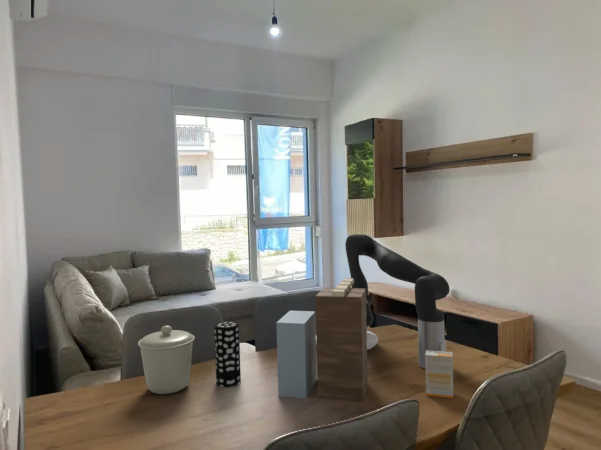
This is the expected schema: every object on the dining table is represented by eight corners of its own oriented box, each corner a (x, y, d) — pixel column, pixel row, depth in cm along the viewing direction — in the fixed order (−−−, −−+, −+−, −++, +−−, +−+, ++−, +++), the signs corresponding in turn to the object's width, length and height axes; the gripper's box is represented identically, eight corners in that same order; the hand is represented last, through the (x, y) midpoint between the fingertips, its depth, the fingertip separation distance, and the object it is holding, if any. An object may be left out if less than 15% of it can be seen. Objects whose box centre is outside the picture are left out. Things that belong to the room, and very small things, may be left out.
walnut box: (326, 380, 155) (324, 287, 153) (367, 383, 151) (365, 288, 150) (317, 398, 141) (315, 296, 140) (362, 401, 138) (361, 297, 136)
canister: (158, 405, 139) (155, 337, 138) (129, 389, 151) (127, 327, 150) (207, 386, 152) (205, 324, 151) (177, 373, 164) (175, 316, 163)
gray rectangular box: (291, 377, 159) (289, 310, 158) (316, 378, 156) (315, 311, 155) (278, 396, 143) (276, 322, 142) (306, 398, 141) (304, 323, 140)
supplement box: (453, 392, 143) (453, 351, 142) (453, 399, 138) (453, 356, 138) (426, 389, 145) (426, 349, 145) (425, 395, 141) (425, 354, 140)
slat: (344, 282, 162) (344, 278, 161) (353, 282, 161) (353, 278, 161) (332, 296, 138) (332, 291, 138) (343, 296, 137) (343, 291, 137)
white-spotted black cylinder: (245, 379, 157) (243, 322, 156) (231, 388, 150) (230, 328, 149) (225, 376, 161) (223, 320, 160) (211, 385, 153) (209, 326, 152)
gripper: (339, 296, 184) (332, 283, 170) (374, 297, 181) (371, 283, 167) (338, 315, 181) (331, 302, 167) (374, 316, 177) (370, 303, 163)
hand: (351, 293), depth 167 cm, fingers open, 8 cm apart
